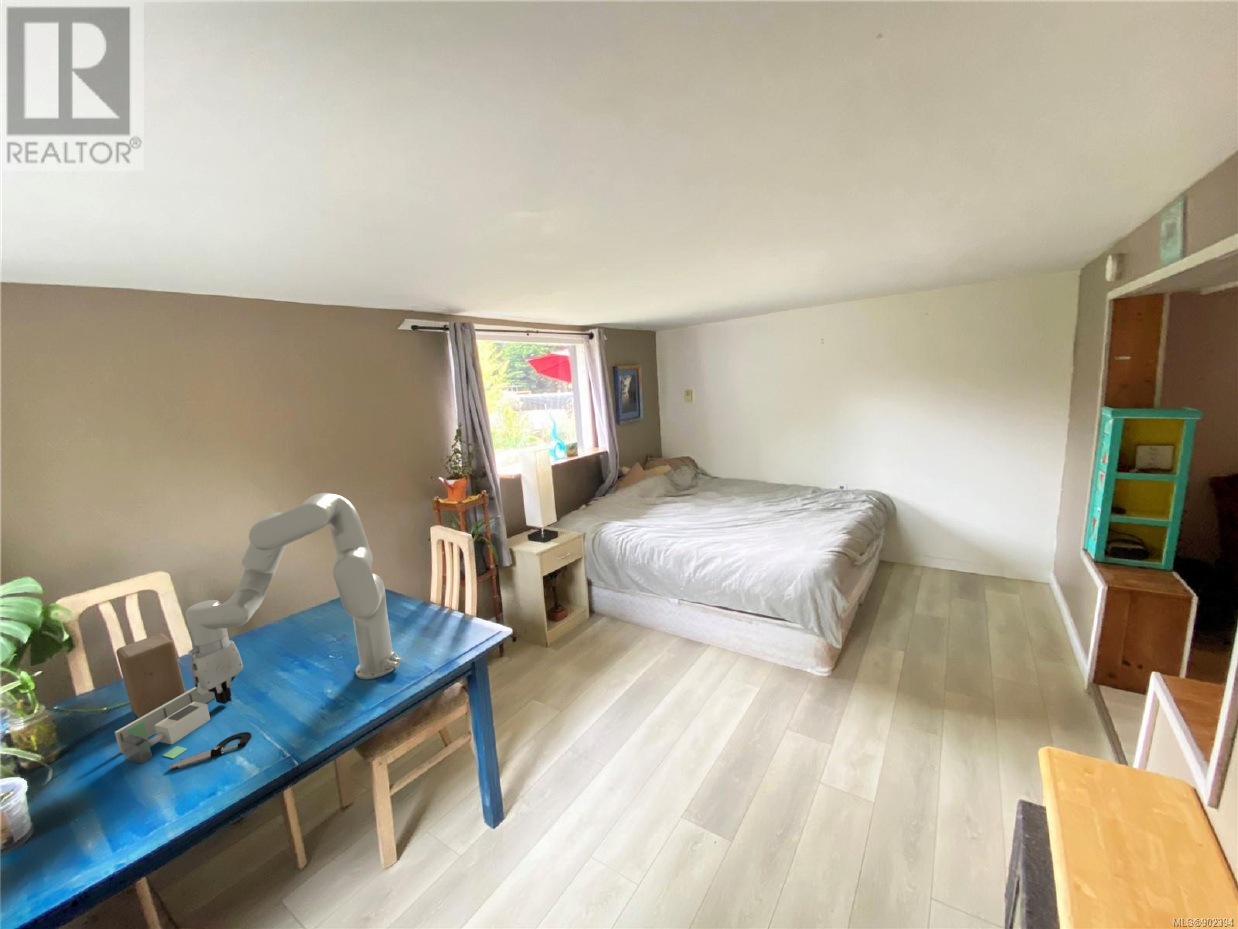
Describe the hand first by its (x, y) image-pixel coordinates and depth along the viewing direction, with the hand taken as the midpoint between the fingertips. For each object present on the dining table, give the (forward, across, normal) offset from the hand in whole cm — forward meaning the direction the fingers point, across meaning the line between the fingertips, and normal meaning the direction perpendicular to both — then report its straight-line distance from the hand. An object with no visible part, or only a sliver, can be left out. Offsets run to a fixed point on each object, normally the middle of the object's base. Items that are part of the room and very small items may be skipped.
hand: (224, 701), depth 131 cm
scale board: (+1, -7, +7) cm, 10 cm away
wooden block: (+1, -5, +19) cm, 20 cm away
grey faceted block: (+1, -20, 0) cm, 20 cm away
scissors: (+2, -13, -16) cm, 20 cm away
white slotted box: (+1, -11, 0) cm, 11 cm away
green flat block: (+1, -16, -7) cm, 18 cm away
